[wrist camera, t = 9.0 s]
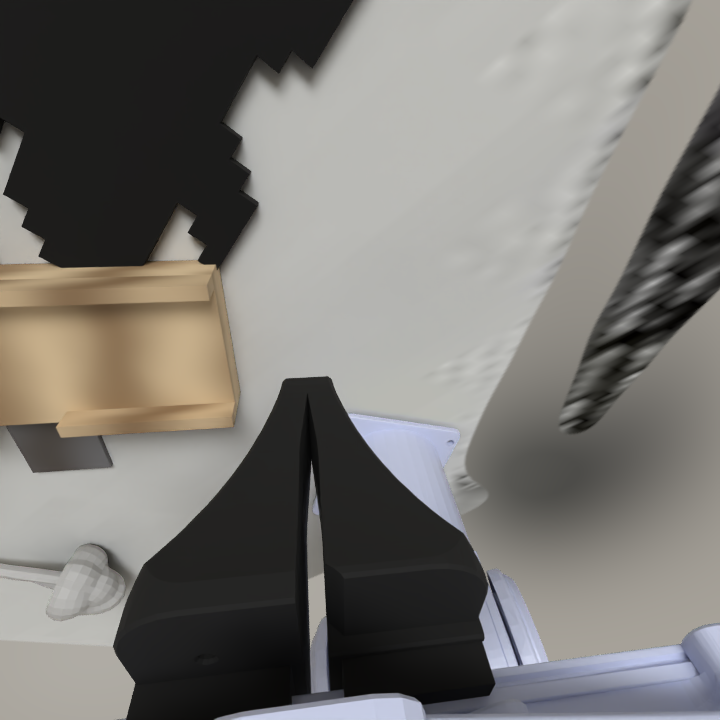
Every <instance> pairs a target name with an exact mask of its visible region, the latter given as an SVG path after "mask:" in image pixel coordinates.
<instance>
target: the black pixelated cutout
mask: <svg viewBox="0 0 720 720" xmlns="http://www.w3.org/2000/svg"><path fill="white" fill-rule="evenodd" d="M352 2H353V0H0V133H1V130H2V127H3V124H4V121H7V122H8V123H10V124H11V125H13V126H15V127H16V128H18V129H20V130H21V131H23V132H24V136H23V139H22V142H21V145H20V148H19V151H18V153H17V156H16V159H15V162H14V165H13V168H12V170H11V173H10V176H9V179H8V182H7V185H6V188H5V190H4V193H3V195H5V196H7V197H9V198H10V199H12V200H14V201H16V202H18V203H20V204H21V205H23V206H25V207H27V208H28V211H27V214H26V216H25V219H24V221H23V224H22V227H23V228H25V229H27V230H29V231H31V232H32V233H34V234H36V235H38V236H40V237H42V238H44V239H45V242H44V244H43V246H42V249H41V251H40V254H39V257H41V258H43V259H45V260H46V261H48V262H50V263H52V264H54V265H56V266H58V267H60V268H84V267H129V266H143V265H144V264H145V263H146V261H147V260H148V258H149V256H150V254H151V252H152V250H153V248H154V247H155V245H156V243H157V241H158V239H159V237H160V235H161V234H162V232H163V230H164V228H165V226H166V224H167V222H168V221H169V219H170V217H171V215H172V213H173V211H174V210H175V208H176V206H177V204H178V203H179V204H180V205H182V206H183V207H185V208H186V209H188V210H190V211H191V212H193V213H194V214H196V215H197V217H196V219H195V221H194V222H193V224H192V226H191V228H190V229H189V231H188V233H189V234H190V235H192V236H194V237H195V238H197V239H199V240H200V241H202V242H203V243H205V244H207V246H206V247H205V249H204V251H203V252H202V254H201V256H200V257H199V259H198V261H199V262H200V263H202V264H204V265H216V268H217V270H218V268H219V267H220V265H221V264H222V262H223V260H224V259H225V257H226V256H227V254H228V252H229V251H230V249H231V248H232V246H233V244H234V243H235V241H236V240H237V238H238V236H239V235H240V233H241V232H242V230H243V228H244V227H245V225H246V224H247V222H248V220H249V219H250V217H251V216H252V214H253V212H254V211H255V209H256V208H257V206H258V203H259V202H258V201H256V200H255V199H253V198H252V197H250V196H249V195H247V194H246V193H245V192H243V191H242V190H240V189H241V187H242V186H243V184H244V182H245V181H246V179H247V177H248V176H249V174H250V172H251V171H250V170H249V169H247V168H246V167H245V166H243V165H242V164H240V163H239V162H238V161H236V160H235V159H234V158H232V155H233V153H234V151H235V150H236V148H237V146H238V144H239V143H240V141H241V139H242V137H241V136H240V135H239V134H238V133H236V132H235V131H234V130H232V129H231V128H230V127H228V126H227V125H226V124H224V123H223V122H222V121H223V119H224V117H225V115H226V113H227V111H228V110H229V108H230V106H231V104H232V102H233V100H234V98H235V97H236V95H237V93H238V91H239V89H240V87H241V85H242V84H243V82H244V80H245V78H246V76H247V74H248V72H249V71H250V69H251V67H252V65H253V63H254V61H255V60H256V58H257V56H258V57H259V58H261V59H262V60H263V61H264V62H265V63H266V64H268V65H269V66H270V67H271V68H272V69H274V70H275V71H276V72H277V73H279V72H280V70H281V69H282V67H283V65H284V63H285V62H286V60H287V58H288V56H289V55H290V53H291V51H293V52H295V53H296V54H297V55H298V56H299V57H300V58H301V59H302V60H304V61H305V62H306V63H307V64H308V65H309V66H310V67H311V68H313V67H314V65H315V64H316V62H317V60H318V58H319V57H320V55H321V53H322V52H323V50H324V48H325V47H326V45H327V43H328V42H329V40H330V38H331V37H332V35H333V33H334V32H335V30H336V28H337V27H338V25H339V23H340V22H341V20H342V18H343V17H344V15H345V13H346V12H347V10H348V8H349V7H350V5H351V3H352Z"/></svg>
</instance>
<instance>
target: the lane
mask: <svg viewBox="0 0 720 720" xmlns="http://www.w3.org/2000/svg"><path fill="white" fill-rule="evenodd" d="M239 396H240V387H239V381H238V375H237V369H236V364H235V358H234V352H233V346H232V340H231V334H230V328H229V322H228V316H227V311H226V305H225V299H224V293H223V287H222V281H221V275H220V269H219V268H218V270H217V268H216V265H204V264H202V263H200V262H199V261H198V260H191V261H146V263H145V264H144V265H143V266H129V267H84V268H60V267H58V266H56V265H54V264H7V265H0V426H6V427H7V429H8V430H9V432H10V434H11V436H12V437H13V439H14V441H15V442H16V444H17V446H18V448H19V449H20V451H21V453H22V454H23V456H24V458H25V460H26V461H27V463H28V465H29V466H30V468H31V470H32V472H33V473H35V472H50V471H64V470H79V469H93V468H108V467H111V466H112V464H113V463H112V461H111V459H110V456H109V454H108V452H107V449H106V447H105V445H104V442H103V440H102V438H101V435H113V434H129V433H145V432H162V431H178V430H194V429H210V428H227V427H234V423H235V418H236V412H237V407H238V402H239Z"/></svg>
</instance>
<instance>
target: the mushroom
mask: <svg viewBox="0 0 720 720" xmlns="http://www.w3.org/2000/svg"><path fill="white" fill-rule="evenodd" d="M0 578H6V579H13V580H21V581H31V582H34V583H36V584H39V585H41V586H44V587H47V588H50V589H53V593H52V595H51V597H50V599H49V602H48V604H47V608H46V614H47V615H48V616H49V617H50V618H51V619H53V620H56V621H64V620H68V619H72V618H74V617H76V616H78V615H95V614H101V613H104V612H106V611H109V610H111V609H112V608H114V607H115V606H116V605H118V604H119V603H120V601H121V600H122V598H123V597H124V595H125V590H126V586H125V582H124V579H123V577H122V576H121V575H120V574H119V573H118V572H116V571H115V570H113V569H111V568H109V567H108V559H107V554H106V553H105V551H104V550H103V549H101V548H100V547H99V546H96V545H91V544H86V545H82V546H80V547H79V548H78V549H77V550H76V552H75V553H74V554H73V556H72V557H71V559H70V560H69V562H68V563H67V564H66V566H65V567H64V569H63V571H62V572H61V571H54V570H46V569H39V568H32V567H24V566H14V565H7V564H0Z"/></svg>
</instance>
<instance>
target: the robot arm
mask: <svg viewBox="0 0 720 720" xmlns="http://www.w3.org/2000/svg"><path fill="white" fill-rule="evenodd" d="M459 439H460V433H459V431H458V430H457V429H455V428H448V427H441V426H434V425H428V424H421V423H414V422H407V421H400V420H393V419H386V418H380V417H373V416H366V415H359V414H347V412H346V411H345V409H344V407H343V405H342V403H341V401H340V399H339V397H338V395H337V393H336V391H335V388H334V386H333V383H332V379H331V378H329V377H328V376H326V377H308V378H289V379H285V380H284V381H283V382H282V386H281V390H280V393H279V395H278V398H277V400H276V403H275V405H274V407H273V409H272V411H271V413H270V415H269V417H268V419H267V421H266V423H265V425H264V427H263V429H262V431H261V433H260V434H259V436H258V438H257V439H256V441H255V443H254V444H253V446H252V448H251V449H250V451H249V452H248V454H247V455H246V457H245V458H244V460H243V461H242V463H241V464H240V465H239V467H238V468H237V469H236V471H235V472H234V474H233V475H232V476H231V477H230V479H229V480H228V481H227V482H226V484H225V485H224V486H223V487H222V488H221V490H220V491H219V492H218V493H217V495H216V496H215V497H214V498H213V499H212V500H211V501H210V502H209V504H208V505H207V506H206V507H205V508H204V509H203V510H202V511H201V512H200V513H199V514H198V515H197V516H196V517H195V518H194V519H193V520H192V521H191V522H190V523H189V524H188V525H187V526H186V527H185V528H184V529H183V530H182V531H181V532H180V533H179V534H178V535H177V536H176V537H175V538H173V539H172V540H171V541H170V542H169V543H168V544H167V545H166V546H164V547H163V548H162V549H161V550H160V551H159V552H158V553H156V554H155V555H154V556H153V557H152V558H151V559H150V560H148V561H147V562H146V563H145V564H144V565H143V567H142V569H141V571H140V573H139V575H138V577H137V579H136V581H135V583H134V586H133V588H132V590H131V592H130V595H129V597H128V599H127V602H126V604H125V607H124V610H123V614H122V617H121V620H120V624H119V627H118V631H117V634H116V637H115V641H114V645H113V648H114V650H115V653H116V655H117V657H118V658H119V660H120V661H121V663H122V664H123V666H124V667H125V669H126V670H127V671H128V673H129V674H130V676H131V677H132V679H133V680H134V681H135V688H134V691H133V695H132V699H131V703H130V707H129V710H128V715H127V718H125V719H118V720H720V623H714V624H708V625H704V626H701V627H698V628H696V629H694V630H692V631H691V632H690V633H688V634H687V635H686V636H685V638H684V639H683V640H682V643H681V644H677V645H670V646H662V647H655V648H648V649H640V650H633V651H625V652H618V653H610V654H603V655H595V656H588V657H581V658H573V659H566V660H558V661H550V662H549V661H548V658H547V655H546V653H545V650H544V648H543V645H542V642H541V640H540V637H539V635H538V632H537V630H536V627H535V625H534V623H533V620H532V617H531V615H530V613H529V611H528V608H527V606H526V604H525V602H524V599H523V597H522V595H521V593H520V591H519V589H518V587H517V585H516V583H515V582H514V580H513V579H512V578H510V577H509V576H507V575H505V574H502V573H501V571H500V570H499V569H492V570H488V571H487V576H488V580H489V583H490V587H491V589H490V587H489V584H488V582H487V580H486V576H485V573H484V570H483V568H482V566H481V563H480V561H479V558H478V555H477V552H476V551H474V550H473V548H472V546H471V544H470V541H469V539H468V536H467V533H466V530H465V527H464V525H463V522H462V520H461V516H460V513H459V511H458V508H457V505H456V502H455V499H454V497H453V494H452V491H451V488H450V486H449V483H448V480H447V477H446V474H445V472H444V469H443V468H444V466H445V464H446V463H447V461H448V459H449V457H450V455H451V453H452V452H453V450H454V448H455V446H456V444H457V442H458V440H459ZM449 440H451V441H449ZM448 441H449V442H448ZM311 460H312V467H313V474H314V481H315V487H316V494H317V495H316V498H315V501H314V504H313V513H314V514H316V515H320V522H321V531H322V541H323V560H324V578H325V598H326V616H325V617H324V618H323V619H322V620H321V622H320V624H319V626H318V629H317V632H316V634H315V636H314V638H313V641H312V645H311V649H310V635H309V605H308V604H309V603H308V569H307V521H308V505H309V490H310V474H311ZM491 590H492V592H491ZM492 593H493V594H492Z"/></svg>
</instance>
